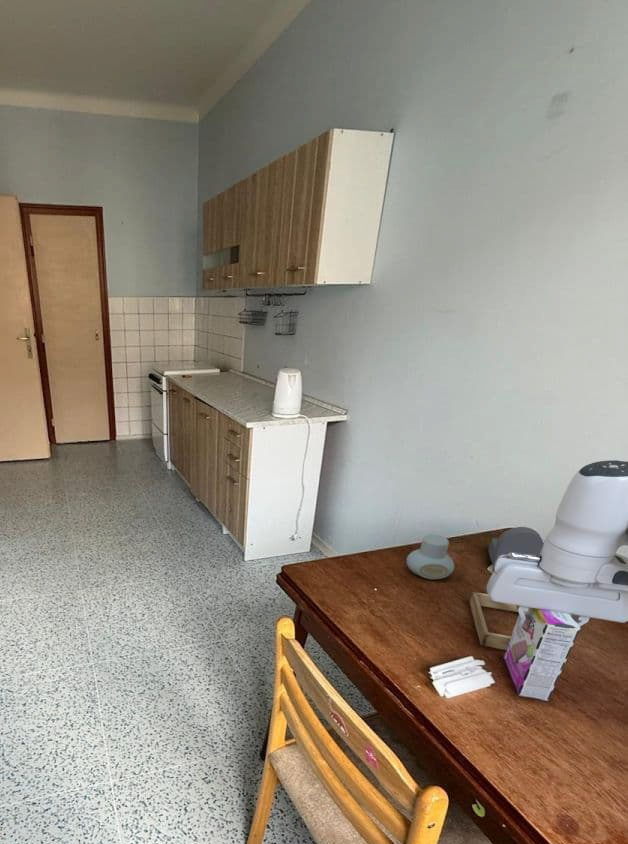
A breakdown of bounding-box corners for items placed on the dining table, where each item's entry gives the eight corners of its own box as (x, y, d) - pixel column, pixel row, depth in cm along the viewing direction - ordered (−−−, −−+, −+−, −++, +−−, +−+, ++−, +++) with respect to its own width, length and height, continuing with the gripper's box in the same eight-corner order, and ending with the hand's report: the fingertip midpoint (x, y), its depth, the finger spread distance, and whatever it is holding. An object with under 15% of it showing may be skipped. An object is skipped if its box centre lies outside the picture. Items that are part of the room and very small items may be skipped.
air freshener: (446, 567, 125) (455, 533, 120) (454, 583, 118) (465, 548, 113) (401, 563, 127) (409, 530, 122) (407, 579, 120) (416, 544, 115)
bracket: (527, 554, 130) (541, 518, 125) (542, 587, 116) (558, 548, 110) (487, 548, 134) (499, 513, 128) (497, 579, 119) (510, 541, 114)
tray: (527, 612, 107) (531, 601, 105) (547, 658, 93) (553, 646, 92) (469, 602, 111) (472, 591, 109) (480, 645, 97) (484, 633, 96)
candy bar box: (500, 657, 94) (526, 587, 86) (530, 661, 92) (559, 591, 85) (516, 696, 84) (546, 622, 77) (549, 702, 83) (583, 627, 75)
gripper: (502, 558, 77) (479, 626, 84) (660, 580, 71) (621, 652, 77) (495, 542, 82) (473, 607, 89) (642, 561, 76) (606, 630, 82)
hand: (543, 628), depth 83 cm, fingers closed on candy bar box, 5 cm apart
